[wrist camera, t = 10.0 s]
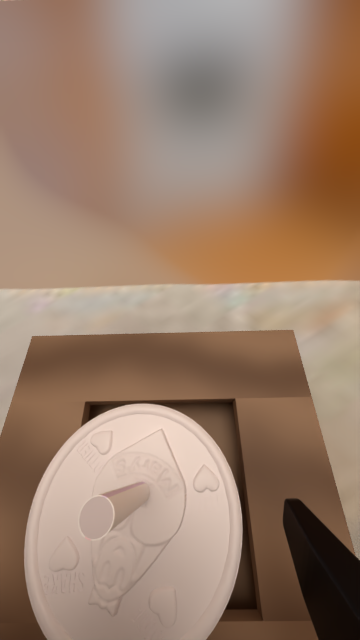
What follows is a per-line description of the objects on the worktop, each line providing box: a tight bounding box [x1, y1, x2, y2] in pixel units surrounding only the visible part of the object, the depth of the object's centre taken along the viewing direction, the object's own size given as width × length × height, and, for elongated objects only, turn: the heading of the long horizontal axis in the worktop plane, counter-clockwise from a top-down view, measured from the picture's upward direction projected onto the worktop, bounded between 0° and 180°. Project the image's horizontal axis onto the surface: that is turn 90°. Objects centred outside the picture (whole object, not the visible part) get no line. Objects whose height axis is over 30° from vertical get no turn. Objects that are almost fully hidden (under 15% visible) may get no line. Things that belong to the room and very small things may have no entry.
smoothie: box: [24, 404, 242, 640], centre depth 10 cm, size 6×6×14 cm
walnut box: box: [0, 330, 355, 640], centre depth 14 cm, size 18×18×4 cm
